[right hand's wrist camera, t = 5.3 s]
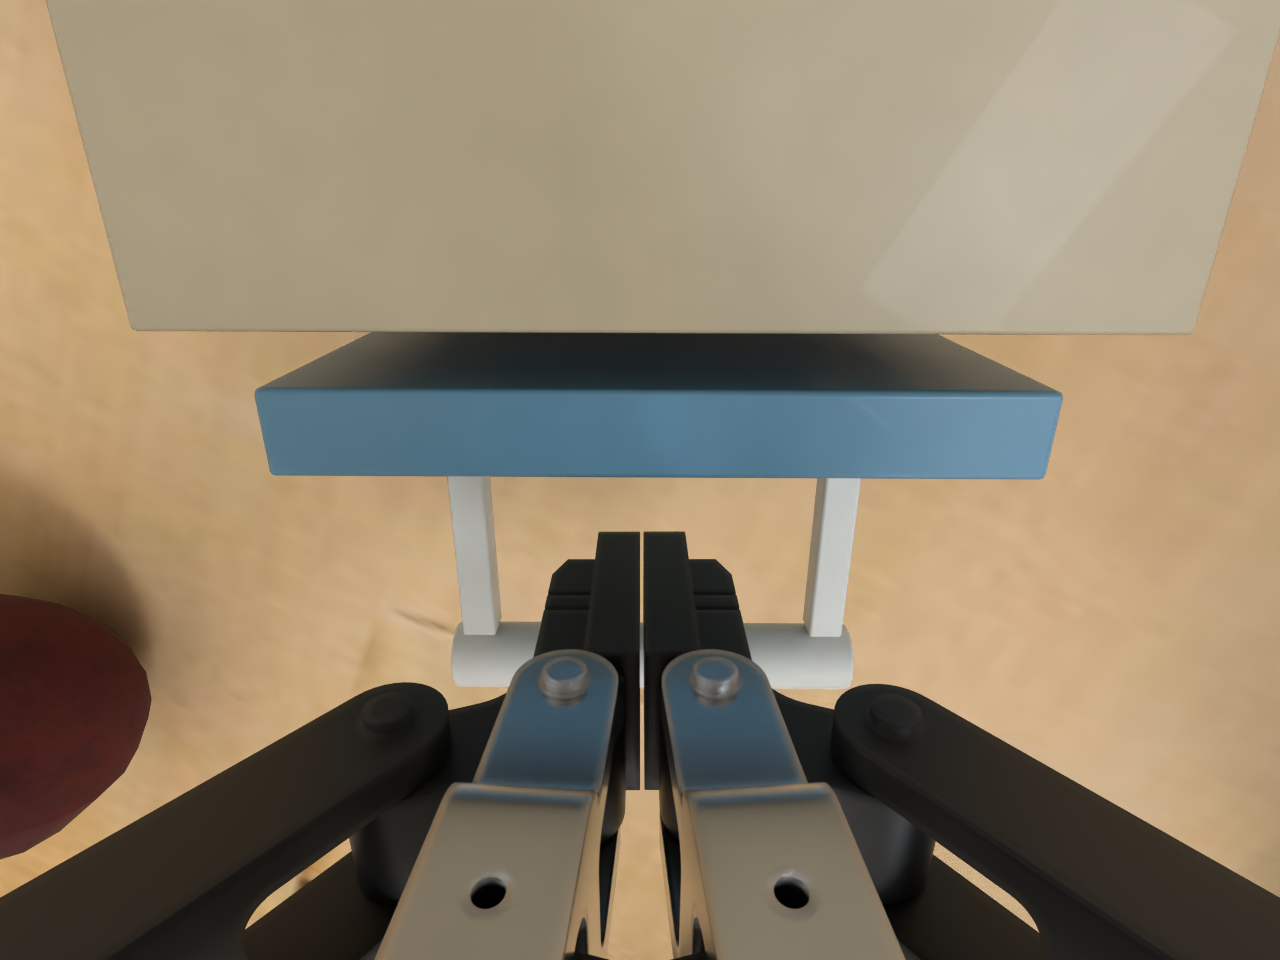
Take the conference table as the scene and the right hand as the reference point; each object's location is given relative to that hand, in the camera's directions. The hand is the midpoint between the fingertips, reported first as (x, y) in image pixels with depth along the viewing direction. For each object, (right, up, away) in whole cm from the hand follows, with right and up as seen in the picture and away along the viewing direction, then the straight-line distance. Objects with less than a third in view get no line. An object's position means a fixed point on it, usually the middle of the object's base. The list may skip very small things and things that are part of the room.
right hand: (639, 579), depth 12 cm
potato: (-18, -4, +11) cm, 21 cm away
